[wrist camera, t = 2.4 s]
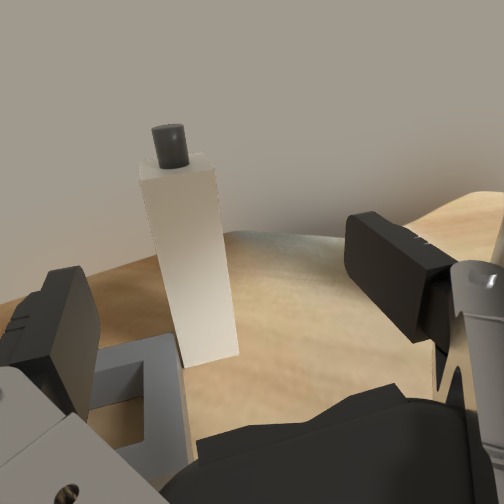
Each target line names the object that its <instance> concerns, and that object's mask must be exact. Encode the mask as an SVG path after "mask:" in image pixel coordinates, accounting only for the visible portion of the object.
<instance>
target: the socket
mask: <svg viewBox="0 0 504 504" xmlns="http://www.w3.org/2000/svg"><path fill="white" fill-rule="evenodd" d="M140 396H144V441H142V442H139V443H135V444H132V445H128V446H125V447H121V448H118V449H114V450H115V451H116V452H117V453H118V454H119V455H120V456H121V457H122V458H123V459H124V460H125V461H126V462H127V463H128V464H129V465H130V466H131V467H132V468H133V469H134V470H135V471H136V472H137V473H138V474H140V475H141V476H142V477H143V478H144V479H145V480H146V481H147V482H148V483H149V484H150V485H151V486H152V487H153V488H154V489H155V490H156V491H157V492H159V491H160V490H161V489H162V487H163V486H164V485H165V484H166V483H167V482H168V481H169V480H170V479H172V478H173V477H174V476H175V475H176V474H177V473H178V472H180V471H181V470H182V469H184V468H185V467H186V466H187V465H189V464H191V463H192V462H194V460H193V453H192V445H191V437H190V429H189V421H188V413H187V405H186V397H185V389H184V381H183V373H182V366H181V361H180V357H179V353H178V348H177V344H176V340H175V336H174V332H171V333H166V334H162V335H158V336H153V337H149V338H145V339H141V340H136V341H132V342H128V343H124V344H119V345H115V346H111V347H107V348H102V349H98V351H97V358H96V365H95V371H94V378H93V385H92V392H91V398H90V405H89V410H91V409H95V408H99V407H102V406H106V405H110V404H114V403H118V402H121V401H125V400H129V399H133V398H137V397H140Z"/></svg>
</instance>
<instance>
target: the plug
mask: <svg viewBox="0 0 504 504" xmlns="http://www.w3.org/2000/svg"><path fill="white" fill-rule="evenodd" d="M152 134H153V139H154V144H155V148H156V153H157V159H150V160H144V161H140V162H139V183H140V187H141V191H142V194H143V199H144V203H145V207H146V211H147V215H148V220H149V224H150V228H151V232H152V236H153V240H154V244H155V248H156V252H157V257H158V261H159V265H160V269H161V273H162V277H163V281H164V285H165V289H166V294H167V298H168V302H169V306H170V310H171V314H172V318H173V322H174V326H175V330H176V335H177V339H178V343H179V347H180V351H181V355H182V359H183V363H184V367H185V368H189V367H193V366H197V365H201V364H205V363H209V362H213V361H216V360H220V359H224V358H228V357H232V356H236V355H239V349H238V341H237V334H236V326H235V319H234V311H233V304H232V296H231V289H230V281H229V274H228V266H227V259H226V251H225V244H224V236H223V229H222V222H221V215H220V207H219V199H218V192H217V184H216V177H215V169H214V167H213V166H212V164H211V162H210V161H209V159H208V158H207V156H206V154H205V153H204V152H199V153H191V154H188V150H187V145H186V138H185V132H184V126H183V125H182V124H168V125H162V126H157V127H154V128H152Z"/></svg>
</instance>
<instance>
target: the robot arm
mask: <svg viewBox="0 0 504 504" xmlns="http://www.w3.org/2000/svg"><path fill="white" fill-rule="evenodd" d="M344 264H345V268H346V271H347V273H348V275H349V277H350V278H351V279H352V280H353V281H354V282H355V283H356V284H357V285H358V286H359V287H360V288H361V289H362V291H363V292H364V293H365V294H366V295H367V296H368V297H369V298H370V299H371V300H372V301H373V302H374V303H375V304H376V305H377V306H378V307H379V308H380V310H381V311H382V312H383V313H384V314H385V315H386V316H387V317H388V318H389V319H390V320H391V321H392V322H393V323H394V324H395V325H396V326H397V327H398V329H399V330H400V331H401V332H402V333H403V334H404V335H405V336H406V337H407V338H408V339H409V340H410V341H411V342H412V343H413V344H414V343H417V342H421V341H425V340H428V339H431V340H432V341H433V342H434V344H433V348H432V388H433V400H427V399H419V398H406V397H405V396H404V395H403V394H402V392H401V391H400V390H399V388H398V387H397V386H396V385H395V383H392V384H389V385H385V386H382V387H379V388H375V389H372V390H368V391H365V392H361V393H358V394H355V395H351V396H349V397H347V398H345V399H344V400H342V401H340V402H339V403H337V404H336V405H334V406H332V407H331V408H329V409H327V410H326V411H324V412H322V413H321V414H319V415H318V416H316V417H314V418H313V419H311V420H309V421H307V422H303V423H286V424H266V425H248V426H245V427H241V428H238V429H234V430H231V431H228V432H224V433H221V434H217V435H214V436H210V437H207V438H204V439H200V440H197V441H196V445H197V452H198V459H197V460H196V461H194V462H192V463H191V464H189V465H187V466H186V467H185V468H184V469H182V470H181V471H180V472H178V473H177V474H176V475H175V476H174V477H173V478H172V479H170V480H169V481H168V482H167V483H166V484H165V485H164V486H163V487H162V489H161V490H160V491H159V492H157V491H156V490H155V489H154V488H153V487H152V486H151V485H150V484H149V483H148V482H147V481H146V480H145V479H144V478H143V477H142V476H141V475H140V474H138V473H137V472H136V471H135V470H134V469H133V468H132V467H131V466H130V465H129V464H128V463H127V462H126V461H125V460H124V459H123V458H122V457H121V456H120V455H119V454H118V453H117V452H116V451H115V450H113V449H112V448H111V447H110V446H109V445H108V444H107V443H106V442H105V441H104V440H103V439H102V438H101V437H100V436H99V435H98V434H97V433H96V432H95V431H94V430H93V429H92V428H91V427H90V426H89V425H87V419H88V412H89V405H90V398H91V392H92V385H93V378H94V371H95V365H96V358H97V351H98V344H99V338H100V319H99V314H98V311H97V308H96V305H95V302H94V299H93V296H92V294H91V291H90V288H89V285H88V282H87V280H86V277H85V274H84V272H83V270H82V268H81V267H80V266H73V267H68V268H63V269H57V270H52V271H49V272H48V274H47V277H46V279H45V282H44V284H43V286H42V288H41V291H37V292H33V293H31V294H29V295H28V296H27V297H26V298H25V299H24V300H23V301H22V302H21V303H20V304H19V305H18V306H17V307H16V309H15V311H14V313H13V315H12V317H11V319H10V320H11V322H9V323H8V325H7V327H6V329H5V333H4V334H3V335H2V337H1V339H0V504H504V217H503V220H502V223H501V227H500V230H499V234H498V237H497V240H496V244H495V247H494V251H493V254H492V258H491V261H490V263H489V262H484V261H476V260H467V261H460V262H458V261H457V260H455V259H454V258H452V257H450V256H449V255H447V254H446V253H444V252H443V251H441V250H440V249H438V248H437V247H435V246H433V245H432V244H428V242H427V241H426V240H424V239H423V238H421V237H418V235H416V234H415V233H413V232H412V231H410V230H409V229H407V228H405V227H402V226H399V225H396V224H393V223H391V222H389V221H388V220H386V219H384V218H383V217H382V216H380V215H379V214H377V213H376V212H373V211H370V212H365V213H360V214H355V215H350V216H349V217H348V218H347V221H346V233H345V251H344Z"/></svg>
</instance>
